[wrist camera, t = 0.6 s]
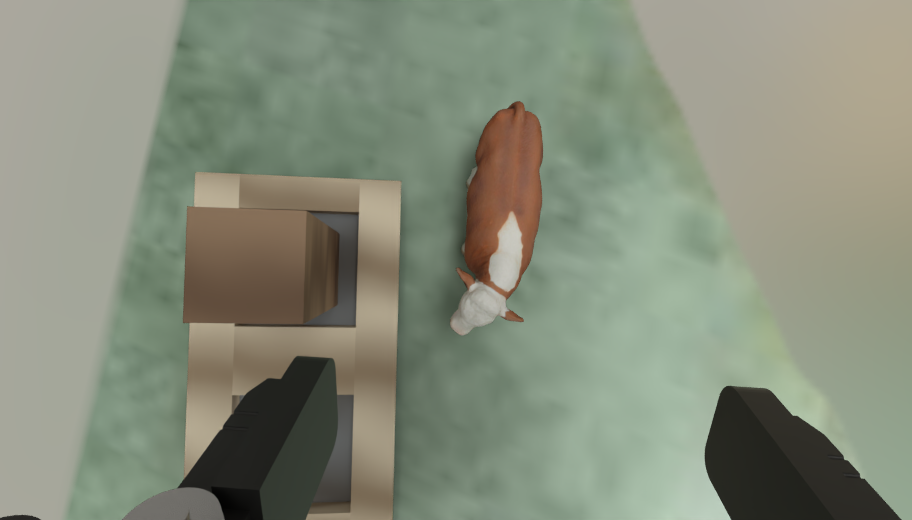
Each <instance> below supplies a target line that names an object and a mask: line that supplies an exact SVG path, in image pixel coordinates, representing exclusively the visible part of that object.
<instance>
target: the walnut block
mask: <svg viewBox="0 0 912 520" xmlns="http://www.w3.org/2000/svg"><path fill="white" fill-rule="evenodd" d="M339 238H340V234H339V233H338V232H336V231H335V230H333V229H332V228H331V227H329V226H328V225H326V224H325V223H323V222H322V221H321V220H319V219H318V218H316V217H315V216H313V215H312V214H311V213H309V212H308V211H299V210H272V209H244V208H217V207H189V206H187V228H186V255H185V281H184V308H183V323H238V324H304V323H306V322H308V321H310V320H312V319H313V318H315V317H317V316H319V315H321V314H322V313H324V312H326V311H328V310H330V309H331V308H333V307H335V306H337V305H338V273H339Z"/></svg>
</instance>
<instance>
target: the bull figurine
mask: <svg viewBox="0 0 912 520" xmlns="http://www.w3.org/2000/svg"><path fill="white" fill-rule="evenodd" d="M475 158H476V164H477V167H475V168H473V169H472V170H471V172H472V173H471V175H470V177H469V178H468V180H467V182H466V185H467V188H468V192H467V225H466V239H465V243H464V244H463V245H462V247H461V252H462V254H463V255H464V256H465V262H466V265H467V267H468V268H469V269H470V270H471V271H472V272H473V273H474V274H475V275H476V281H475V280H474V279H473V277H472V276H471V275H469V274H468V273H466V272H464V271H462V270H461V269H460V268H456V271H457V273H458V274H459V276H460V277H461V279H462V280H463V281H464V284H465V285H466V287H467V291H466V292H465V293H464V294H463V296H462V298H461V300H460V303H459V307H458V310H457V311H456V312H455V313H454V314H453V315H452V317H451V319H450V322H451V323H450V326H451V328H452V329H453V330H454V331H455V332H456V333H458V334H459V335H466V334H468V333H469V332H470V331H471V330H472V329H473V328H474V327H478V326H484V325H486V324H490V323H492V322H493V320H494V319H495V317H496V316H501V317H502V318H504V319H506V320H509V321H517V322H524V320H523V318H521V317H519V316H518V315H517V314H515V313H514V312H513V311H511V310H509V309H508V308H507V307H506V300H507V299H508V298H509V297H510V296H511V294H512V293H513V292H514V291H515V289H516V288H517V286H518V284H519V282H520V280H521V276H522V274H523V273H524V271H525V270H526V268H527V267H528V265H529V263H530V261H531V257H532V253H533V247H534V240H535V237H536V234H537V231H538V226H539V219H540V211H541V206H542V189H541V181H540V175H539V168H540V166H541V163H542V158H543V143H542V132H541V126H540V123H539V120H538V118H537V117H536V116H535V115H534V114H532V113H531V112H528V111H525V108H524V105H523V103H522V102H520V101H518V102H514V103H513V104H511V105H510V106H509V107H508V108H507V109H502V110H500V111H498V112H497V113H496V114H495V115H494V116H493V117H492V118H491V120H490V121H489V122H488V123H487V125H486V126H485V128H484V130H483V133H482V135H481V138H480V141H479V145H478V147H477V150H476V155H475Z"/></svg>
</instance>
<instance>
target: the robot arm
mask: <svg viewBox="0 0 912 520" xmlns="http://www.w3.org/2000/svg"><path fill="white" fill-rule="evenodd" d="M337 430H338V405H337V385H336V367H335V362H334V359H333V358H324V357H310V356H296V357H295V358H294V359H293V361H292V362H291V364H290V365H289V367H288V368H287V370H286V372H285V373H284V375H283V376H282V378H281V379H275V378H267V379H266V380H264V381H263V382H262V383H260V384H259V385H257V386H256V387H254V388H253V389H251V390H250V391H249V392H247V393H246V395H245V396H244V397H243V399H242V400H241V402H240V403H239V404H238V406H237V407H236V408H235V410H234V414H231V415H230V417H229V418H228V419H227V421H226V422H225V424H224V425H223V429H222V430H219V432H218V433H217V435H216V436H215V437H214V439H213V440H212V441H211V443H210V444H209V446H208V447H207V448H206V450H205V451H204V452H203V454H202V455H201V457H200V458H199V459H198V461H197V462H196V464H195V465H194V466H193V468H192V469H191V470H190V472H189V473H188V475H187V476H186V477H185V479H184V480H183V481H182V483H181V484H180V486H179V487H178V488H177V489H173V490H169V491H166V492H163V493H160V494H158V495H155V496H153V497H151V498H149V499H147V500H146V501H144V502H142V503H141V504H139V505H138V506H136V507H135V508H134V509H133V510H132V511H130V512H129V513H128V514H127V515H126V516H125V517H124V518H123V519H122V520H306V517H307V515H308V512H309V510H310V507H311V505H312V502H313V500H314V497H315V494H316V492H317V489H318V487H319V484H320V482H321V479H322V477H323V474H324V472H325V469H326V467H327V464H328V462H329V459H330V457H331V454H332V452H333V449H334V446H335V442H336V437H337ZM705 465H706V470H707V473H708V476H709V479H710V481H711V483H712V484H713V486H714V488H715V490H716V492H717V494H718V496H719V498H720V499H721V501H722V503H723V505H724V507H725V509H726V511H727V512H728V514H729V516H730V518H731V520H901V519H900V518H899V517H898V515H897V514H896V513H895V512H894V511H893V510H892V509H891V508H890V507H889V505H888V504H887V503H886V502H885V501H884V500H883V499H882V498H881V497H880V496H879V494H877V492H876V491H875V490H874V489H873V488H872V487H871V486H870V485H869V484H868V482H867V481H866V480H865V479H861V478H860V474H859V472H858V471H857V470H856V469H855V468H854V467H853V466H852V465H851V464H850V462H849V461H848V460H844V456H843V455H842V454H841V453H840V451H839V450H838V449H837V448H836V447H835V446H834V445H833V444H832V443H831V442H830V440H829V439H828V438H827V437H826V436H825V435H824V434H822V433H821V432H820V431H818V430H817V429H815V428H814V427H812V426H811V425H809V424H808V423H807V422H805V421H804V420H802V419H801V418H799V417H798V416H792V414H791V413H790V412H789V411H788V410H787V409H786V408H785V406H784V405H783V404H782V403H781V402H780V401H779V399H778V398H777V397H776V396H775V395H774V394H773V393H772V392H771V391H770V390H768V389H765V388H751V387H736V386H726V387H725V388H723V390H722V391H721V393H720V396H719V399H718V403H717V407H716V410H715V414H714V417H713V421H712V425H711V428H710V432H709V435H708V439H707V443H706V447H705ZM0 520H40V519H39V518H36V517H33V516H28V515H14V516H7V517H2V518H0Z"/></svg>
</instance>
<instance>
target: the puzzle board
mask: <svg viewBox="0 0 912 520" xmlns="http://www.w3.org/2000/svg"><path fill="white" fill-rule="evenodd" d="M194 207H217V208H244V209H272V210H299V211H308V212H309V213H311V214H312V215H313V216H315V217H316V218H318V219H319V220H321V221H322V222H323V223H325V224H326V225H328V226H329V227H331V228H332V229H333V230H335V231H336V232H338V233H339V234H340V238H339V273H338V305H337V306H335V307H333V308H331V309H330V310H328V311H326V312H324V313H322V314H321V315H319V316H317V317H315V318H313V319H312V320H310V321H308V322H306V323H304V324H238V323H190V329H189V356H188V383H187V409H186V436H185V463H184V479H185V477H186V476H187V475H188V473H189V472H190V470H191V469H192V468H193V466H194V465H195V464H196V462H197V461H198V459H199V458H200V457H201V455H202V454H203V452H204V451H205V450H206V448H207V447H208V446H209V444H210V443H211V441H212V440H213V439H214V437H215V436H216V435H217V433H218V432H219V430H222V429H223V425H224V424H225V422H226V421H227V419H228V418H229V417H230V415H231V414H234V410H235V408H236V407H237V406H238V404H239V403H240V402H241V400H242V399H243V397H244V396H245V395H246V393H247V392H249V391H250V390H251V389H253V388H254V387H256V386H257V385H259V384H260V383H262V382H263V381H264V380H266V379H267V378H275V379H281V378H282V376H283V375H284V373H285V372H286V370H287V368H288V367H289V365H290V364H291V362H292V361H293V359H294V358H295V357H296V356H310V357H324V358H333V359H334V362H335V367H336V385H337V405H338V430H337V437H336V442H335V446H334V449H333V452H332V454H331V457H330V459H329V462H328V464H327V467H326V469H325V472H324V474H323V477H322V479H321V482H320V484H319V487H318V489H317V492H316V494H315V497H314V500H313V502H312V505H311V507H310V510H309V512H308V515H307V517H306V520H393V482H394V444H395V405H396V366H397V328H398V289H399V250H400V212H401V181H387V180H364V179H342V178H319V177H296V176H273V175H250V174H228V173H205V172H195V195H194Z"/></svg>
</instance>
